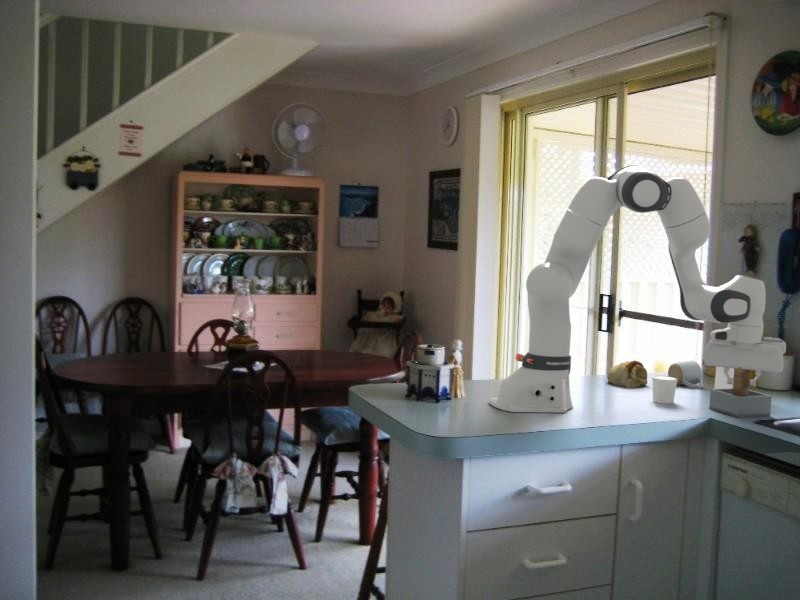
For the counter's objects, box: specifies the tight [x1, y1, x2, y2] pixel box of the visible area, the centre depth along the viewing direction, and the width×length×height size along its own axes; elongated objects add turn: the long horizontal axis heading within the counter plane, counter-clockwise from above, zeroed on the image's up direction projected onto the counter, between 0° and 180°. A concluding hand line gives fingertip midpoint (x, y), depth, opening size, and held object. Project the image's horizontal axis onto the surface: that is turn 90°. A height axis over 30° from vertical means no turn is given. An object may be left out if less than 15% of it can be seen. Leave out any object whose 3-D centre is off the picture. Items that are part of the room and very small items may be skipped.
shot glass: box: [651, 375, 677, 405], centre depth 244 cm, size 7×7×7 cm
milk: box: [713, 323, 734, 389], centre depth 258 cm, size 6×6×22 cm
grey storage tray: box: [708, 388, 773, 418], centre depth 233 cm, size 11×11×6 cm
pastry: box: [606, 360, 648, 389], centre depth 271 cm, size 14×12×8 cm
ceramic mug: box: [667, 360, 703, 389], centre depth 272 cm, size 11×8×8 cm
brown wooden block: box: [732, 367, 751, 396], centre depth 233 cm, size 4×2×12 cm, turn 111°
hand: (741, 385), depth 233 cm, fingers open, 4 cm apart
